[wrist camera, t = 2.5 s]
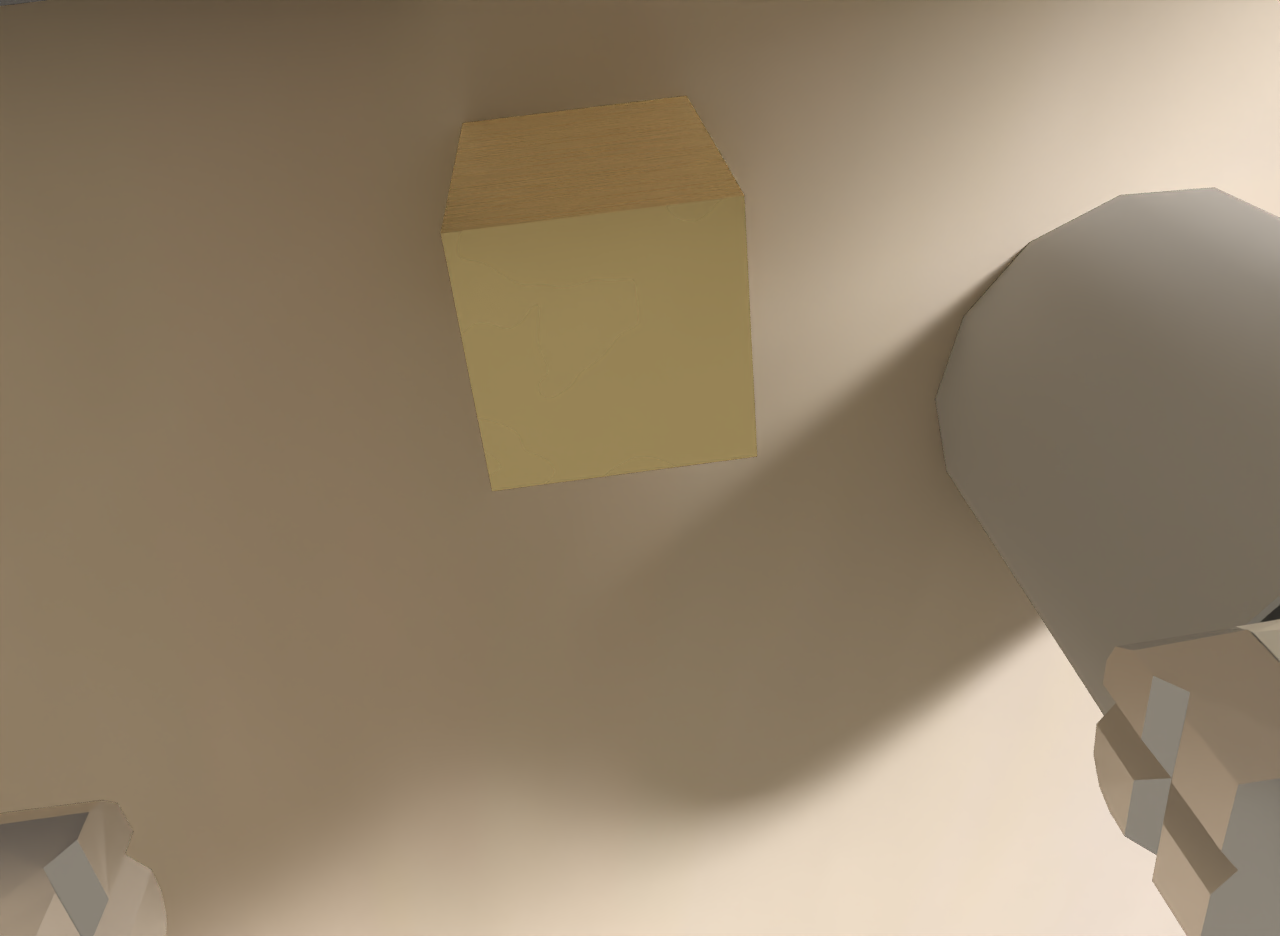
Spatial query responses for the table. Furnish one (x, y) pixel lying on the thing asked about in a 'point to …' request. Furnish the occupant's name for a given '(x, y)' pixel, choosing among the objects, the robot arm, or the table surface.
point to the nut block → (601, 292)
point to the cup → (1128, 422)
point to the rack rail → (16, 1)
